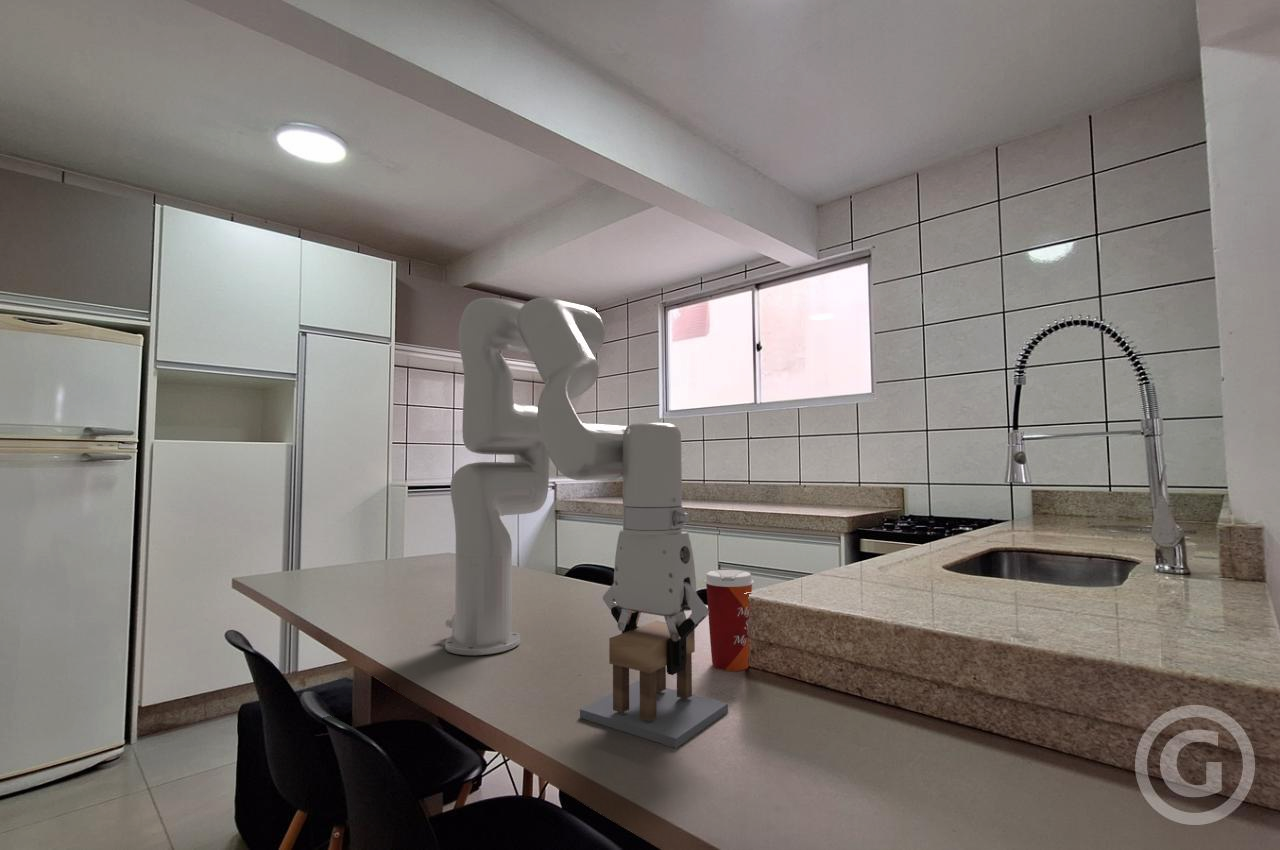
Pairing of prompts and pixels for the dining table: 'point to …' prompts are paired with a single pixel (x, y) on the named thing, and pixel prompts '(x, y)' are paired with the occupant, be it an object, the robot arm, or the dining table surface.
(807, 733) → the dining table surface
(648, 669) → the footstool
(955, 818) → the dining table surface
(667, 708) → the mat
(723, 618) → the paper cup
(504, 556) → the robot arm
